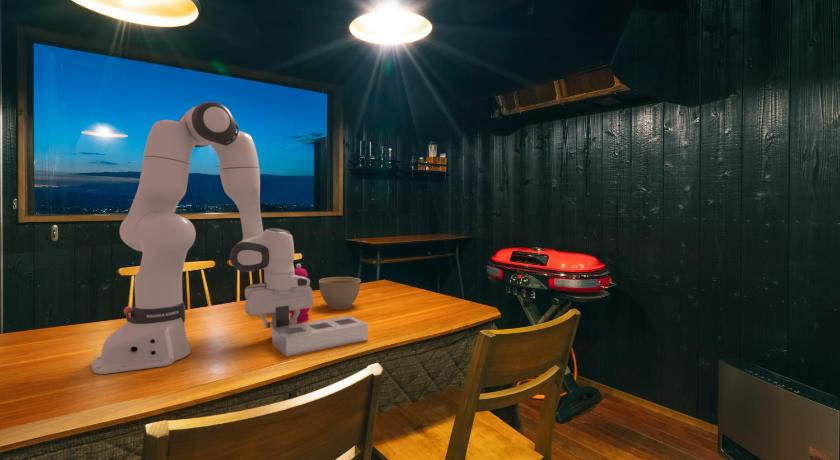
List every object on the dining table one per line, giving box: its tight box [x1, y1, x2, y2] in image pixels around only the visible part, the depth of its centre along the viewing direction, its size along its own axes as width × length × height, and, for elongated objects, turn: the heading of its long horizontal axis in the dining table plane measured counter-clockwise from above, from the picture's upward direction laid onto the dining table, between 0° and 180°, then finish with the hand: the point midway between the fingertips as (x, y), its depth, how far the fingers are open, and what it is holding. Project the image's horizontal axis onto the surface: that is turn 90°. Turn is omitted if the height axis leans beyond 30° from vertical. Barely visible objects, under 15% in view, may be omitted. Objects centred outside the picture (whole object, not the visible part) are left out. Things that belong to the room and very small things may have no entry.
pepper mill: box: [289, 263, 311, 323], centre depth 159 cm, size 7×7×20 cm
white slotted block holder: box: [271, 315, 369, 357], centre depth 135 cm, size 25×12×5 cm, turn 126°
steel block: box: [271, 306, 290, 329], centre depth 139 cm, size 4×4×10 cm
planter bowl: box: [318, 276, 362, 310], centre depth 178 cm, size 16×16×11 cm
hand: (280, 325), depth 140 cm, fingers open, 7 cm apart
